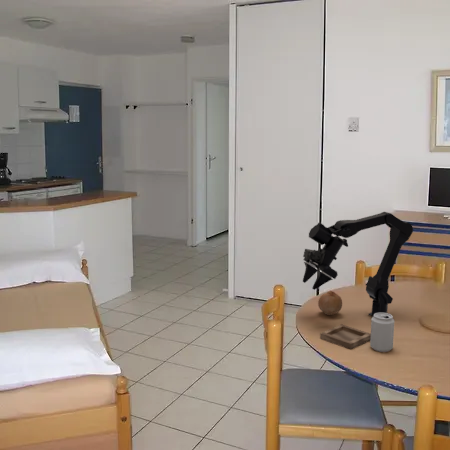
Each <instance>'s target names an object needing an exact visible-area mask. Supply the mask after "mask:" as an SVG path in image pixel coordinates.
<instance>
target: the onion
mask: <svg viewBox="0 0 450 450" xmlns="http://www.w3.org/2000/svg"><path fill="white" fill-rule="evenodd" d="M317 305H318V309H319V310H320V311H321V312H322V313H323V314H325V315H326V316H327V315H328V316H332V315H335V314H337V313H339V312H340V311H341V310H342V308H343V299H342V297H341V296H340V295H339V294H338V293H336V292H335V291H332V290H329V291H327V292H325V293H323V294H321V295H320V297H319V298H318V301H317Z"/></svg>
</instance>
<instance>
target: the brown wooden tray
mask: <svg viewBox="0 0 450 450" xmlns="http://www.w3.org/2000/svg"><path fill="white" fill-rule="evenodd" d="M319 339H320V340H323V341H326V342H329V343H332V344H334V345H337V346H339V347H343V348H346V349H348V350H352V349H355V348H357V347H359V346H362V345H363V344H366V343H368V342H370V339H371V332H366V331H364V330H362V329H358V328H354V327H352V326H348V325H345V324H342V323H341V324H339V325H337V326H335V327H332V328H329V329H327V330H325V331H322V332H320V334H319Z"/></svg>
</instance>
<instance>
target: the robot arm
mask: <svg viewBox="0 0 450 450" xmlns="http://www.w3.org/2000/svg"><path fill="white" fill-rule="evenodd" d="M382 225H386V226H387V227H388V228H390V229H389V242H388V244H387V247H386V249H385V252H384V254H383V257H382V260H381V262H380V264H379V267H378V269H377V271H376V273H375V275H373V276H371V275H370V276H369V277H368V279H367V282H366V283H365V291H366V293H367V294H368V296H369V299H372V304H371V305H372V306H371V312H369V313H368V314H367V315H368V316H370V317H374V314H375V313H388V308H389V304H392V303H393V299H394V298H393V297H392V296H391V295H390V294H389V293H388V292H389V288H390V287H389V286H390V285H389V284H390V283H389V278H390V275H391V273H392V270H393V269H394V266H395V264H396V261H397V258H398V257H399V253H400V252H401V249H402V247H403V245H404V244H406V242H408V241H409V239H410V238H411V236H412V234H413V231H414V227H413V225H412V224H411V223H410V222H408V221H407V222H406V221H403V220H402V219H400V218H398V217H396V216H395V215H394V214H393V213H391V212H388V211H383V212H380V213H377V214H373V215H369V216H365V217H362V218H357V219H343V220H342V219H341V220H337V221H336V222H335V223H334V224H332V225H331V226H328V227H327V226H325V225H324V224H323V223H321V222H317V224H316V225H313V227H312V228H310V230H309V232H308V238H309V239H311V240H313V242H316V243H317V244H319V245H321V246H323V247H322V248H321V247H320V248H318V249H317V250H316V249H308V248H304V251H303V256H302V257H303V260H302V261H303V264H304V265H305V270H304V275H303V278H302V282H303V283H304V284H306V283H307V282H308V281H309V280H310V279H311V278H312V277H313V276H314V275H316V273H317V277H316V280H315V281H314V284H313V285H312V287H311V288H312V290H315V291H316V290H317V289H318V288H320V287H321V286H323V285H324V284H326V283H328V282H330V281H333V280H336V279H337V278H338V277H337V276H338V271H337V270H335V269H333V268H332V267H331V264H332V263H333V261H336V260H337V259H338V258H337V257H336V256H337V254H338V253H339V252H340V250H341V248H342V247H343V246H344V247H346V248H348V247H349V245H348V244H349V243H348V238H351V237H353V236H355V235H356V234H357V233H359V232H361V231H364V230H368V229H371V228H374V227H379V226H382ZM341 237H342V238H341ZM318 269H319V270H318Z"/></svg>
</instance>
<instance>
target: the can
mask: <svg viewBox="0 0 450 450" xmlns="http://www.w3.org/2000/svg"><path fill="white" fill-rule="evenodd" d="M370 322H371V324H370V333H371V339H370V341H369V343H370V344H369V346H370V347H371V348H372V349H373V350H375V351H376V352H381V353H388V352H390V351H391V350H392V349H393V348H394V338H395V337H394V336H395V335H394V334H395V319H394V316H393V315H392V314H391V313H388V312H387V313H375V314H374V317H373V316H371V321H370Z"/></svg>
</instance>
